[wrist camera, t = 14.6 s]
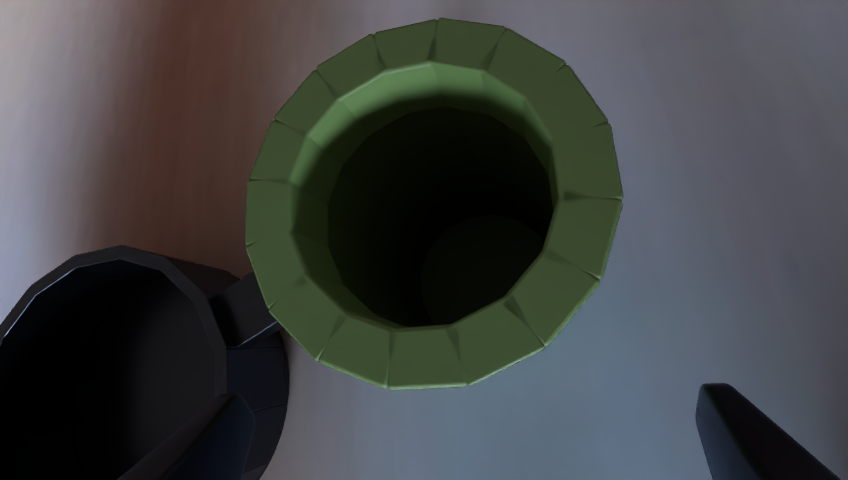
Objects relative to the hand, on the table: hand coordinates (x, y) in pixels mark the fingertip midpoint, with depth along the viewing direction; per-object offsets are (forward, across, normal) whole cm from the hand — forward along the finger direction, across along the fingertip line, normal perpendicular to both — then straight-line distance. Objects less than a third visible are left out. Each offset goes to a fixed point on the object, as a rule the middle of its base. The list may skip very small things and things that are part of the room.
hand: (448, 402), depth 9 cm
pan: (+7, +16, +8) cm, 19 cm away
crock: (+10, 0, +5) cm, 11 cm away
